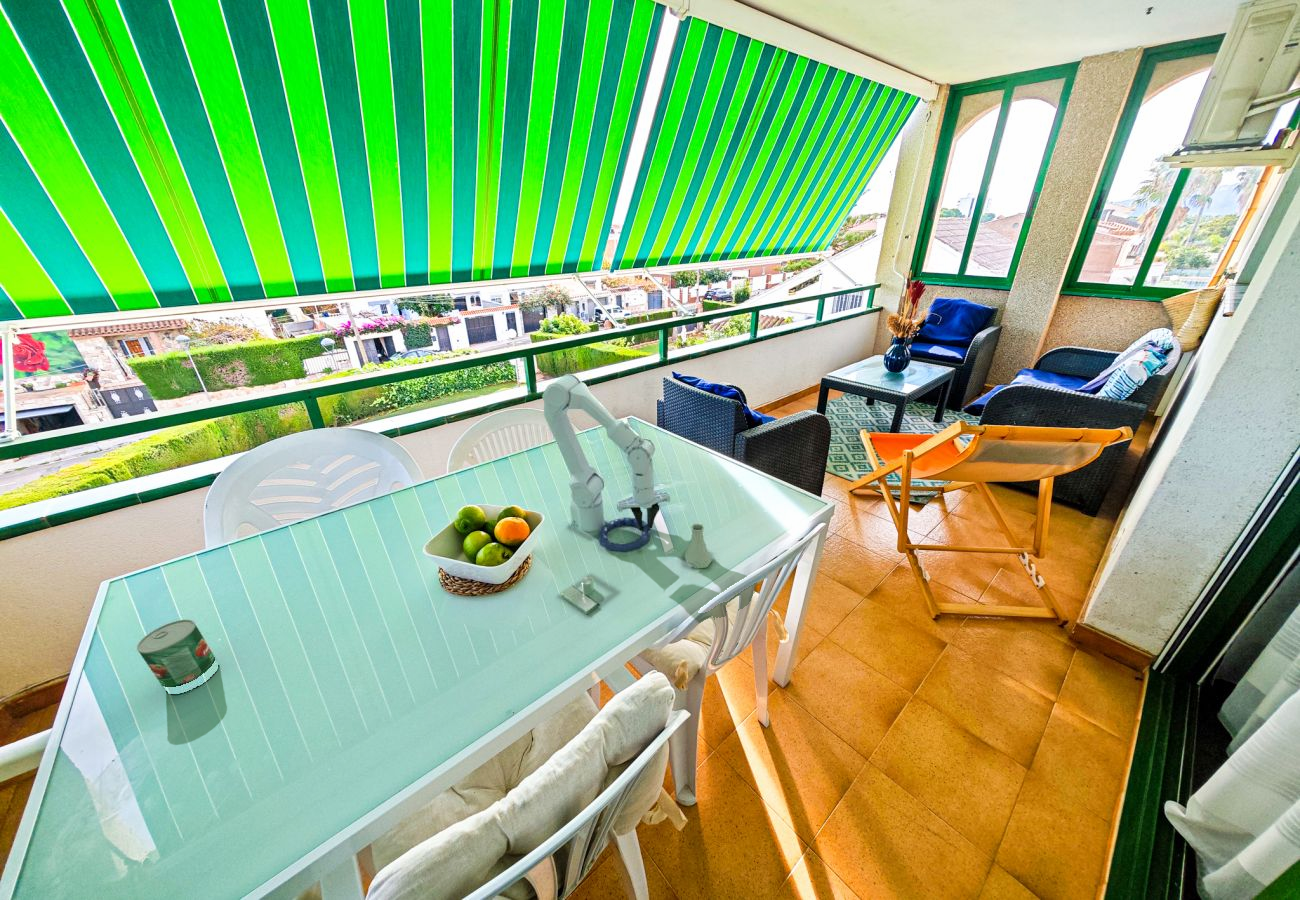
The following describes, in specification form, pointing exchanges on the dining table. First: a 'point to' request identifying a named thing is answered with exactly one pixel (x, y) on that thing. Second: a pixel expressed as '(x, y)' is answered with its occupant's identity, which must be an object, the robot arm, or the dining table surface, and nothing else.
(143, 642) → the canned tomato
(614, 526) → the ring
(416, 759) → the dining table surface
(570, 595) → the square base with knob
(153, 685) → the dining table surface
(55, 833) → the dining table surface
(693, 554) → the flask
